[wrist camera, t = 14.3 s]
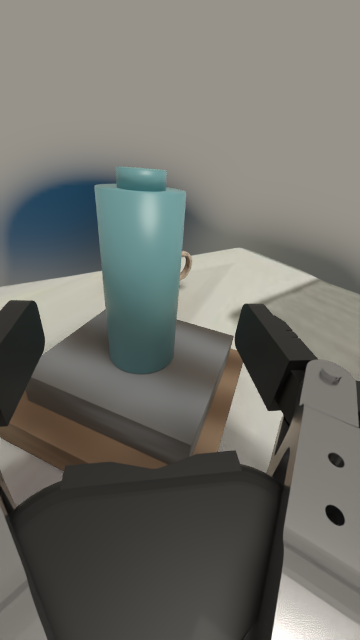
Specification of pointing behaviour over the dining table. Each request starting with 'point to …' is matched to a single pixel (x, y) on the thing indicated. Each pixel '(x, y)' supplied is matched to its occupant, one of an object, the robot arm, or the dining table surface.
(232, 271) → the dining table surface
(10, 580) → the robot arm
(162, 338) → the teal bottle
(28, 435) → the tower base
